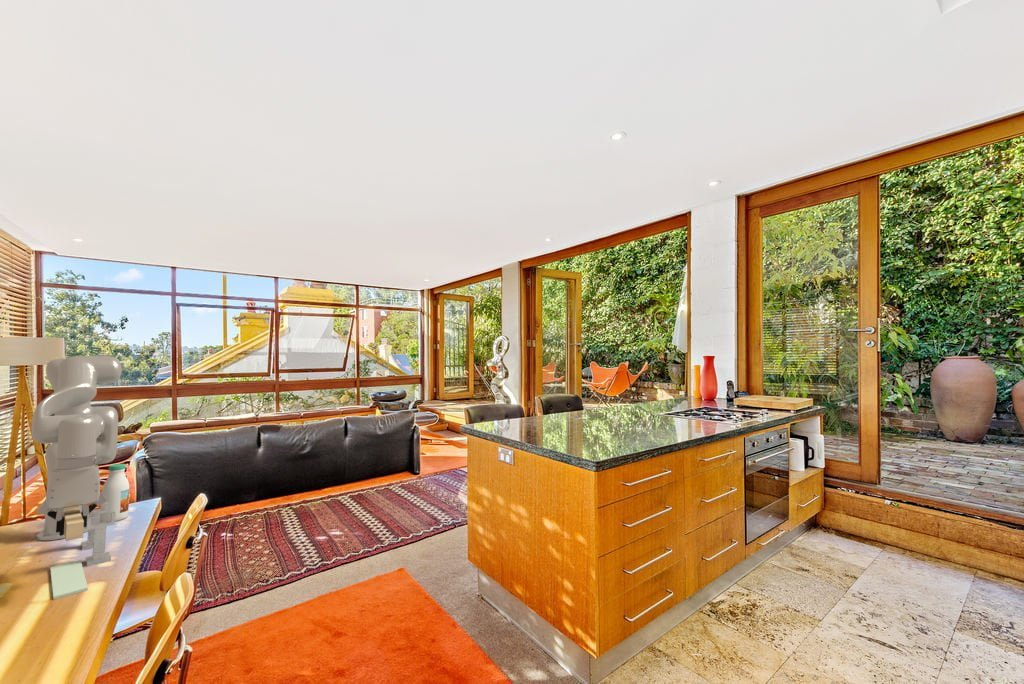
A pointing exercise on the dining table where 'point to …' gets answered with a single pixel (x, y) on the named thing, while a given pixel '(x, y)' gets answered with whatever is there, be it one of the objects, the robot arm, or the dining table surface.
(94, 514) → the post
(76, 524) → the rail
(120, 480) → the milk bottle
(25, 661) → the dining table surface
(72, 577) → the mat
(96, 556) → the post
